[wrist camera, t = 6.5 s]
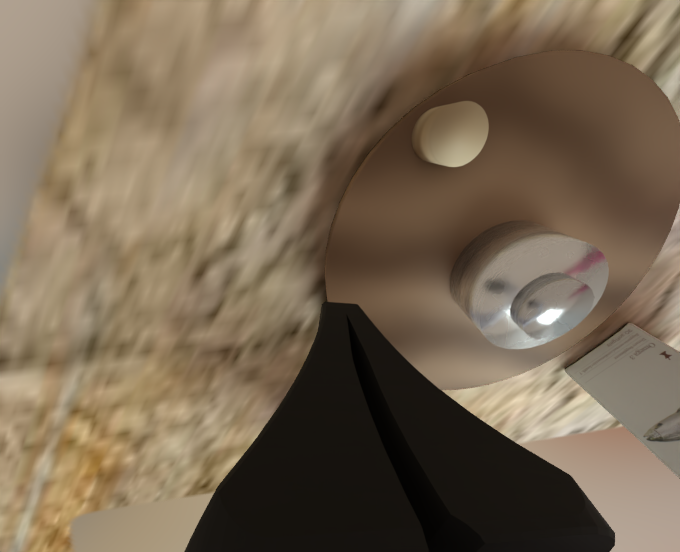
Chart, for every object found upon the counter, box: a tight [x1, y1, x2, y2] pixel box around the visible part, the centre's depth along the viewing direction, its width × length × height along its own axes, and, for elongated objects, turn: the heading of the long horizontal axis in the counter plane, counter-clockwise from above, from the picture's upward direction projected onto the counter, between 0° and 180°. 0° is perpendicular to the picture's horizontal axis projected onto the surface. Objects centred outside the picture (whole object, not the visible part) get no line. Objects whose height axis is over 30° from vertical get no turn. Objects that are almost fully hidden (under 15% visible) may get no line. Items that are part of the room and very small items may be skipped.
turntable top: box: [325, 50, 680, 390], centre depth 17 cm, size 23×23×4 cm
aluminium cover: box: [450, 220, 609, 349], centre depth 15 cm, size 7×7×4 cm
